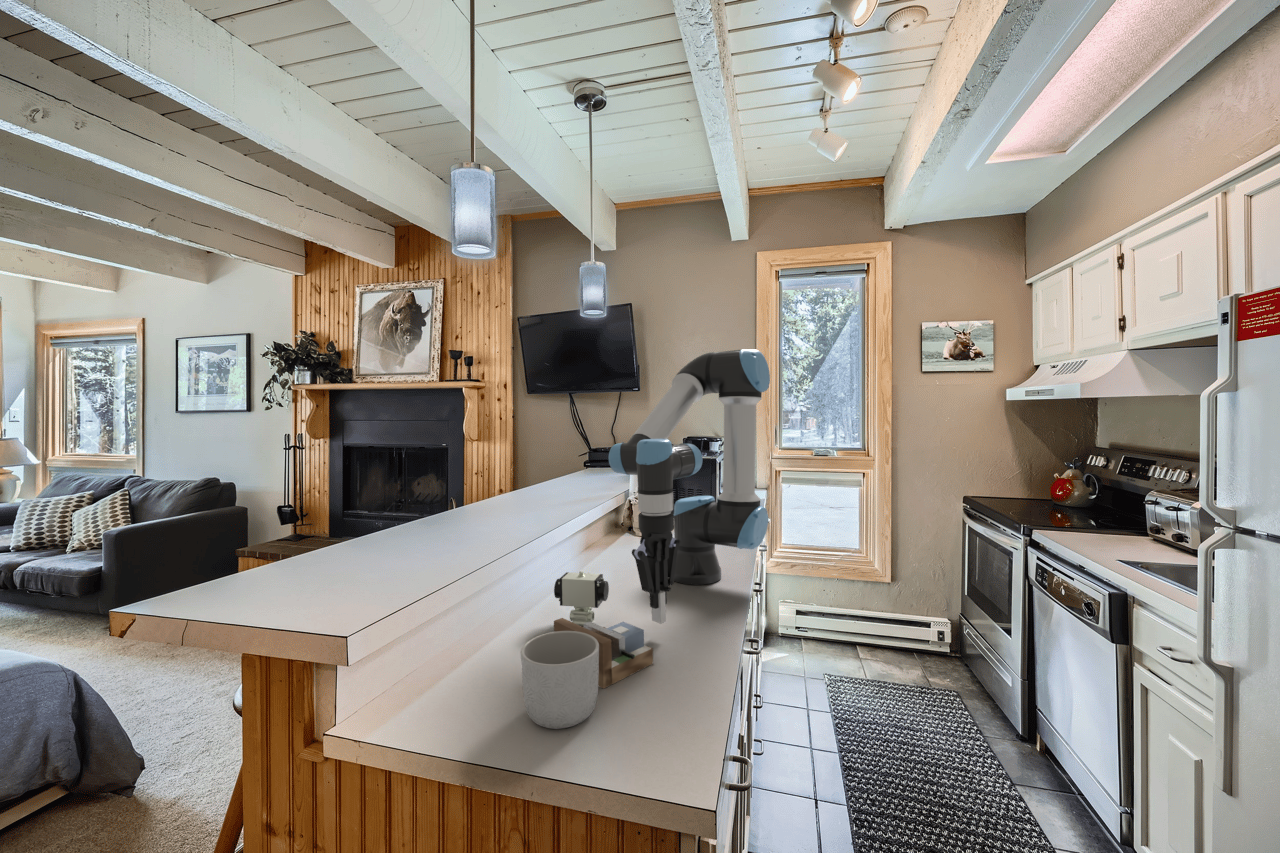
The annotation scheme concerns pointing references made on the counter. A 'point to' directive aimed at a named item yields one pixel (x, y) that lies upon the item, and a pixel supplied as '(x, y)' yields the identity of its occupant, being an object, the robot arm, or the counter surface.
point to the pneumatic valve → (581, 594)
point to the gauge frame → (610, 656)
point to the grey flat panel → (615, 638)
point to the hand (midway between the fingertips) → (658, 621)
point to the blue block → (629, 635)
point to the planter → (560, 678)
